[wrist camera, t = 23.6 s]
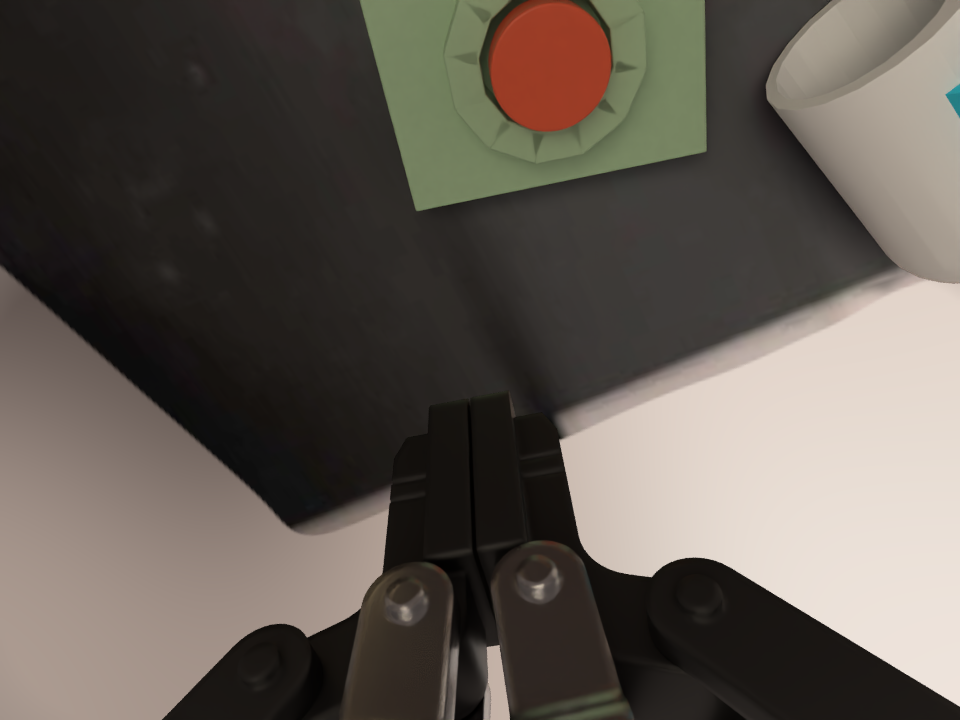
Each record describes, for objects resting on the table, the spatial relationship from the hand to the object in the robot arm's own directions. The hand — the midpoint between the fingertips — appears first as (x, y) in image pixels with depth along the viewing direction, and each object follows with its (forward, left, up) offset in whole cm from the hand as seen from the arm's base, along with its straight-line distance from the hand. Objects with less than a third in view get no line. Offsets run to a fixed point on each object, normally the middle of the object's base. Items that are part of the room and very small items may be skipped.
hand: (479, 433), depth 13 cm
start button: (+4, +3, -16) cm, 16 cm away
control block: (+4, +3, -19) cm, 20 cm away
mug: (+19, -2, -19) cm, 28 cm away
